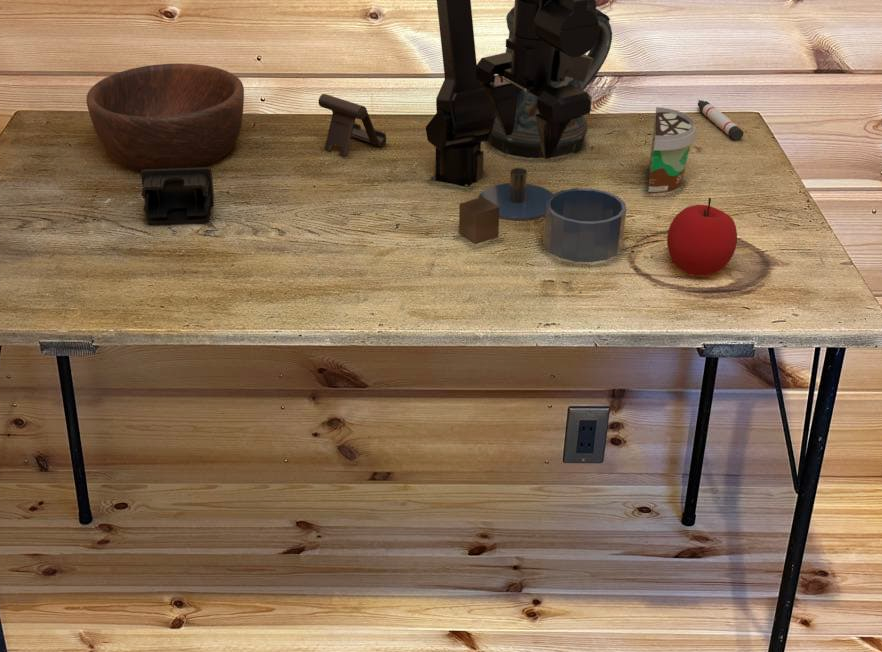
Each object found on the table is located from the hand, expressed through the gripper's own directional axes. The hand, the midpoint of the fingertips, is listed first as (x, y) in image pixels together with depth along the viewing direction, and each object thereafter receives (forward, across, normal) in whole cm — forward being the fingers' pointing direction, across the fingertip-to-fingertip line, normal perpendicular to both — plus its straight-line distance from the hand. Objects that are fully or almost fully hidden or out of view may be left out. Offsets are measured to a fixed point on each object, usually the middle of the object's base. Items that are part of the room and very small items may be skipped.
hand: (527, 146), depth 162 cm
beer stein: (+13, +26, -22) cm, 36 cm away
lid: (+12, +7, -4) cm, 15 cm away
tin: (+13, -8, -4) cm, 16 cm away
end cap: (+13, +31, +40) cm, 52 cm away
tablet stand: (+13, +40, +6) cm, 42 cm away
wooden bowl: (+14, +54, +32) cm, 64 cm away
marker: (+13, +16, -51) cm, 55 cm away
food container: (+13, +1, -28) cm, 31 cm away
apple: (+13, -21, -14) cm, 28 cm away
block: (+13, +1, +7) cm, 15 cm away
